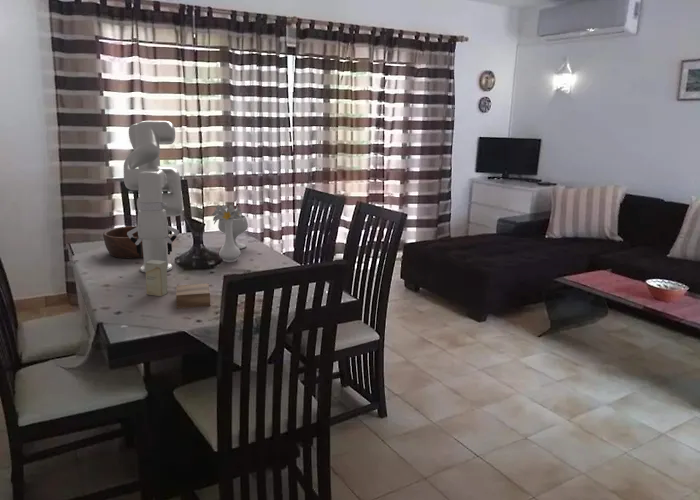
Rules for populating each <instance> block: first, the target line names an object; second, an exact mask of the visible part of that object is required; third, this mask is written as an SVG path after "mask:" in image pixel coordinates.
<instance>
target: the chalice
mask: <svg viewBox="0 0 700 500" xmlns="http://www.w3.org/2000/svg"><path fill="white" fill-rule="evenodd" d="M241 217H242V218H243V220H244V221H243V220H241V219H240V218H237V217H234V220H233V225H232V231H233V240H234V243H235V245H236V246H237V247H238V248H239V250H242V249H245V248H246V247H247V245H246V244H245V243H241V242H237V241H236V240H237V237H238V236H240V235H242V234H243V233H245V232H246V231H247V230H248V228H249V223H248V220H247V218H246V216H245V215H243V214H242V215H241ZM217 228H218V230H219V231H220V232H221V233H222V234H225V235H226V229H225V223H224V220H223V221H220V220H219V219H218V224H217ZM223 246H224V244H222V245H221V246H220V249H221V248H222V247H223Z"/></svg>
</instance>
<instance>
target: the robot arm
mask: <svg viewBox="0 0 700 500" xmlns="http://www.w3.org/2000/svg"><path fill="white" fill-rule="evenodd" d="M128 137H129V141H130V145H131V147H132V149H133V150H132V151H131V152H130V153H129V154H128V156H127V157H126V158H125V160H124V163H123V182H124V185H125V188H126V189H128V190H129V191H138V195H139V196H138V197H137V199H136V207H137V226H138V227H136V228H134V229H133V230H131V231H129V232H127V235H128V237H129V238H130V240H131V241H132V242H134V243H135V244H136V247H137V253H139V256H141V255H142V248H141V243H140V242H141V241H142V245H143V257H142V259H143V265H141V266H140V267H139V268H140V269H139V270H140V272H142V273H145V274H146V267H145V262H147V261H150V260H160V261H166V265H167V272H168V271H171V270H172V269H173V265H172V264H171V263H169V258H168V255H171V252H173V246H172V244H173V242H174V241H175V240H176V239H177V237H178V235H179V233H180V230H179V229H177V228H176V227H175V228H174V227H172V226H171V225H169V223H168V217H178V216H181V215H182V213H183V209H184V208H183V207H184V205H183V203H184V202H183V194H182V193H183V192H182V182H181V181H182V180H181V176H180V172H179V171H178V169H176V168H175V167H162V166H161V157H160V155H161V148H160V145H173V144H174V143H175V140H176V129H175V126H174V124H173V123H172V122H171V121H167V120H143V121H140V122H138V123H133V124H131V125H130V126H129V128H128ZM163 192H164V193H163ZM137 231H138V237H139V238H138V239H136V238H134V237H133V235H132V234H133V233H135V232H137ZM169 231H170V232H172V233H173V235H172V236H169Z"/></svg>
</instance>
